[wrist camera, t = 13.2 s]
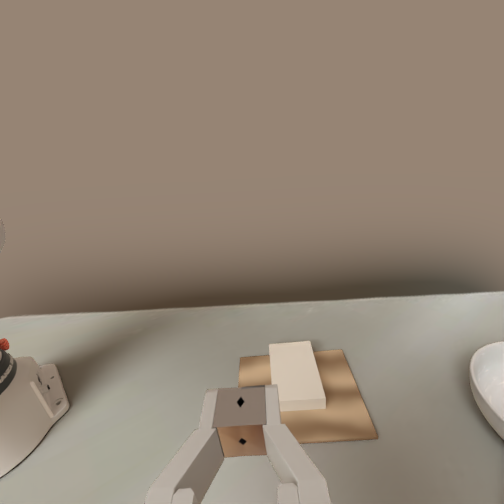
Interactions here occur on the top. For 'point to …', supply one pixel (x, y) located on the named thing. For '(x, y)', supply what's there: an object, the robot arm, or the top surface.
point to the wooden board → (337, 401)
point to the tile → (296, 376)
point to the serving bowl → (489, 383)
